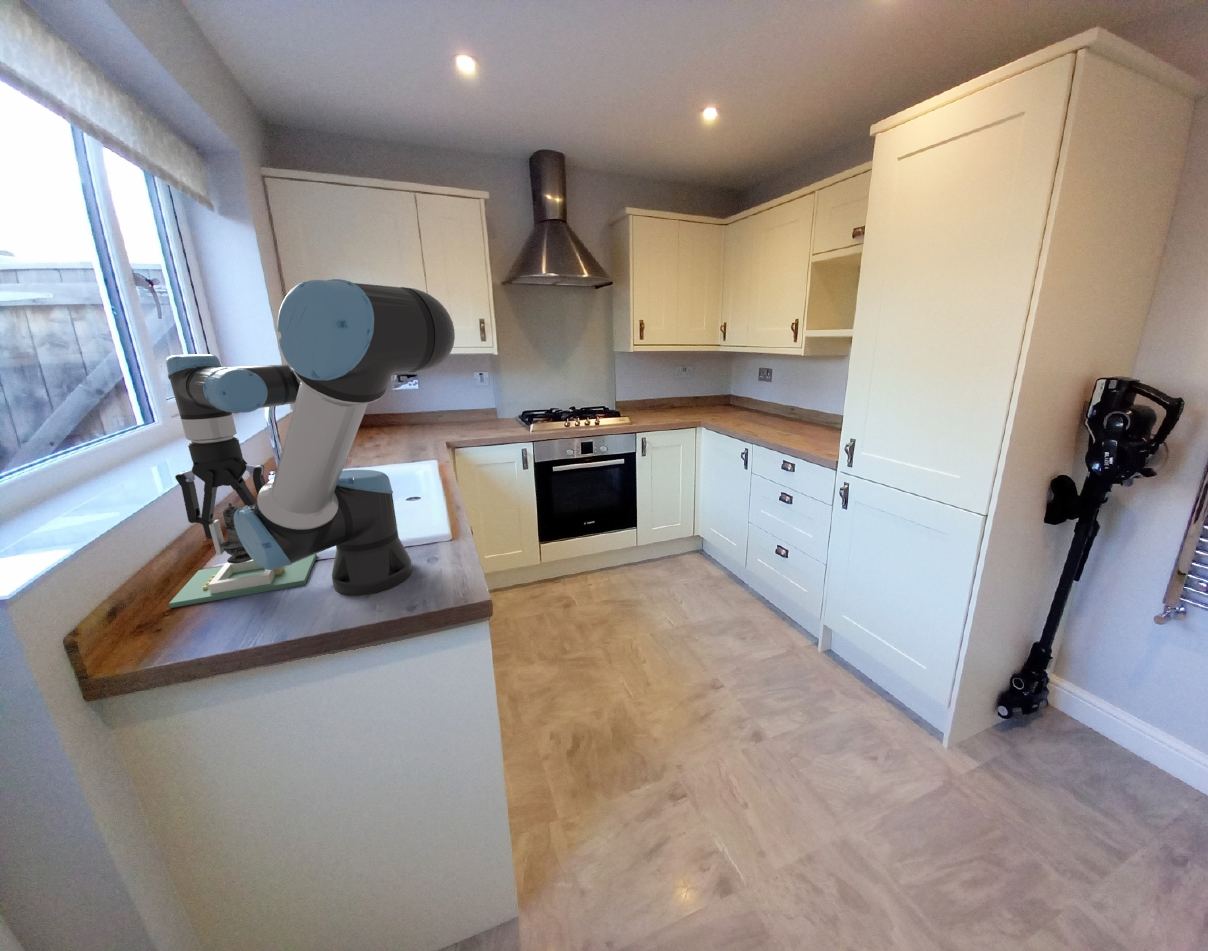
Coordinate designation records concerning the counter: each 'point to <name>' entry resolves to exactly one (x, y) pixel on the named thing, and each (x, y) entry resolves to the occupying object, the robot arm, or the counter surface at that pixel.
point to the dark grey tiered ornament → (233, 538)
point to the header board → (241, 581)
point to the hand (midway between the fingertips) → (241, 549)
